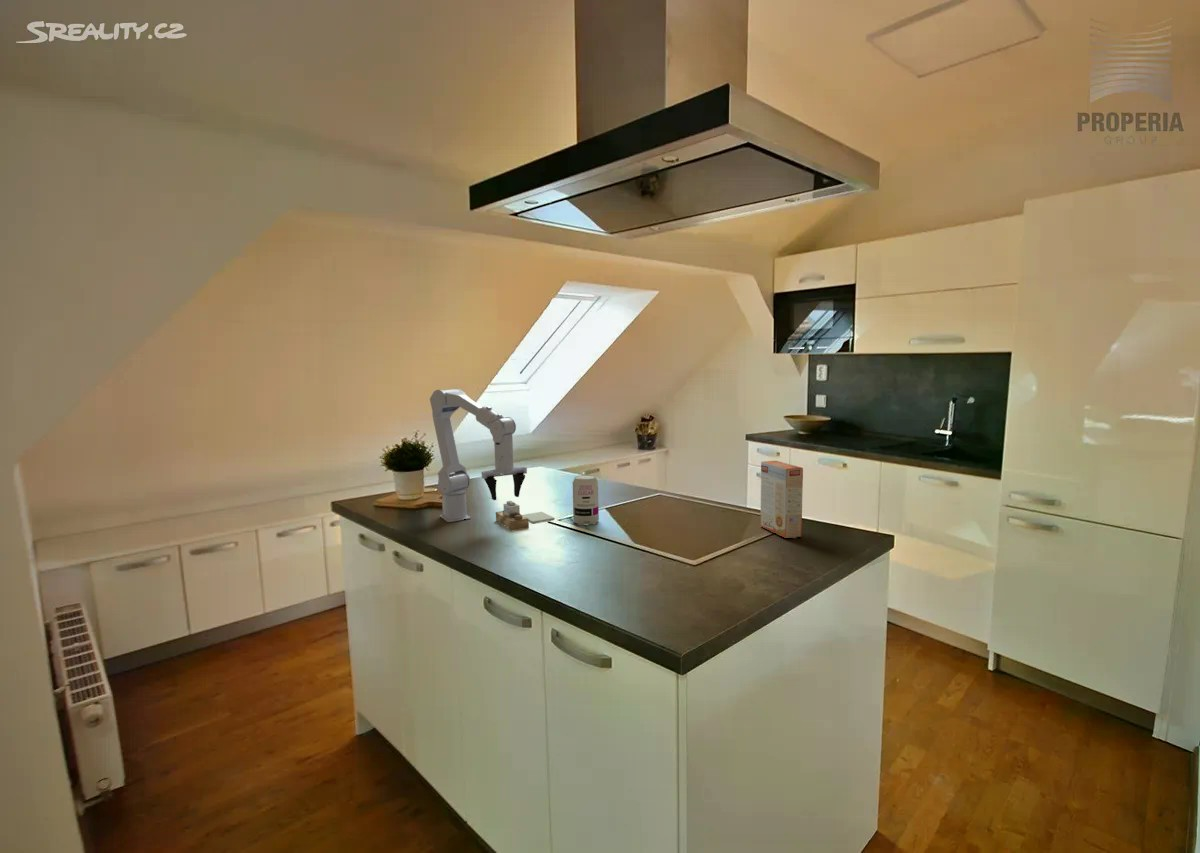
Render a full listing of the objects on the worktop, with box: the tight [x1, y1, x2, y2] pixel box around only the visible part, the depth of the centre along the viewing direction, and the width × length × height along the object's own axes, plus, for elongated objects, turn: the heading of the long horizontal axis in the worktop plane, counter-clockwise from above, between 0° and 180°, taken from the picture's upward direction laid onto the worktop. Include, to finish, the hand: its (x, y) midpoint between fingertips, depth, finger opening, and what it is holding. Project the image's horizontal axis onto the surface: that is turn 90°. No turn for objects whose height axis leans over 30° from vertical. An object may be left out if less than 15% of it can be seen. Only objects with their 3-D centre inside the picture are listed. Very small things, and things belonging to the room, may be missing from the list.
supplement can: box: [572, 474, 600, 525], centre depth 188 cm, size 8×8×15 cm
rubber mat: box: [522, 511, 555, 524], centre depth 195 cm, size 10×8×1 cm
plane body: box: [495, 509, 530, 531], centre depth 188 cm, size 14×6×4 cm, turn 31°
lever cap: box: [503, 500, 521, 518], centre depth 188 cm, size 5×4×4 cm
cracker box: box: [759, 460, 804, 538], centre depth 172 cm, size 14×6×21 cm, turn 14°
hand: (505, 498), depth 184 cm, fingers open, 7 cm apart
